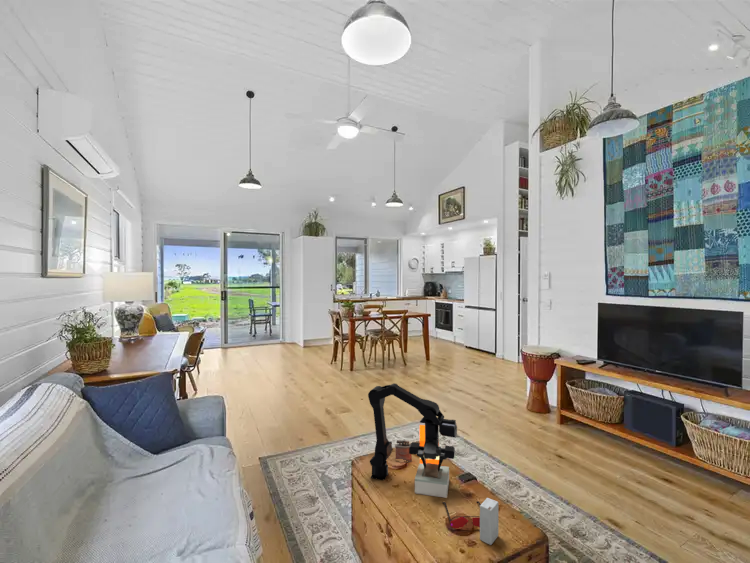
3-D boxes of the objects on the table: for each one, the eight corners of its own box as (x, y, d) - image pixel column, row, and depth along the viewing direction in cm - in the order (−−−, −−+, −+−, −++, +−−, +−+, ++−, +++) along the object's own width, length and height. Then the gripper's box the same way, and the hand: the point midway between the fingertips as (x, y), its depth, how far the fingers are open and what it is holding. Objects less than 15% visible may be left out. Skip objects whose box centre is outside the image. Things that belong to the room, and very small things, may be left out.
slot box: (414, 493, 152) (414, 478, 151) (419, 476, 164) (419, 463, 164) (447, 497, 148) (446, 483, 148) (449, 480, 161) (449, 466, 161)
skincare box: (486, 530, 129) (486, 496, 129) (499, 536, 126) (499, 501, 126) (479, 540, 124) (478, 504, 124) (491, 546, 121) (491, 510, 121)
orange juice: (420, 463, 176) (419, 421, 176) (438, 464, 175) (438, 422, 174) (419, 471, 168) (419, 428, 168) (439, 473, 167) (438, 429, 167)
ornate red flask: (412, 459, 180) (411, 438, 180) (412, 462, 177) (411, 441, 176) (395, 458, 181) (395, 438, 181) (395, 462, 177) (394, 441, 177)
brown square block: (425, 475, 154) (425, 468, 154) (427, 469, 159) (427, 462, 159) (437, 477, 153) (437, 470, 152) (438, 471, 157) (438, 464, 157)
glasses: (450, 532, 129) (450, 518, 129) (442, 503, 145) (442, 490, 145) (490, 532, 129) (490, 517, 129) (477, 502, 145) (477, 490, 145)
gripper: (406, 439, 150) (407, 477, 151) (453, 444, 146) (453, 483, 146) (411, 428, 161) (411, 463, 161) (454, 432, 156) (455, 469, 157)
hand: (432, 470), depth 156 cm, fingers closed on brown square block, 5 cm apart
